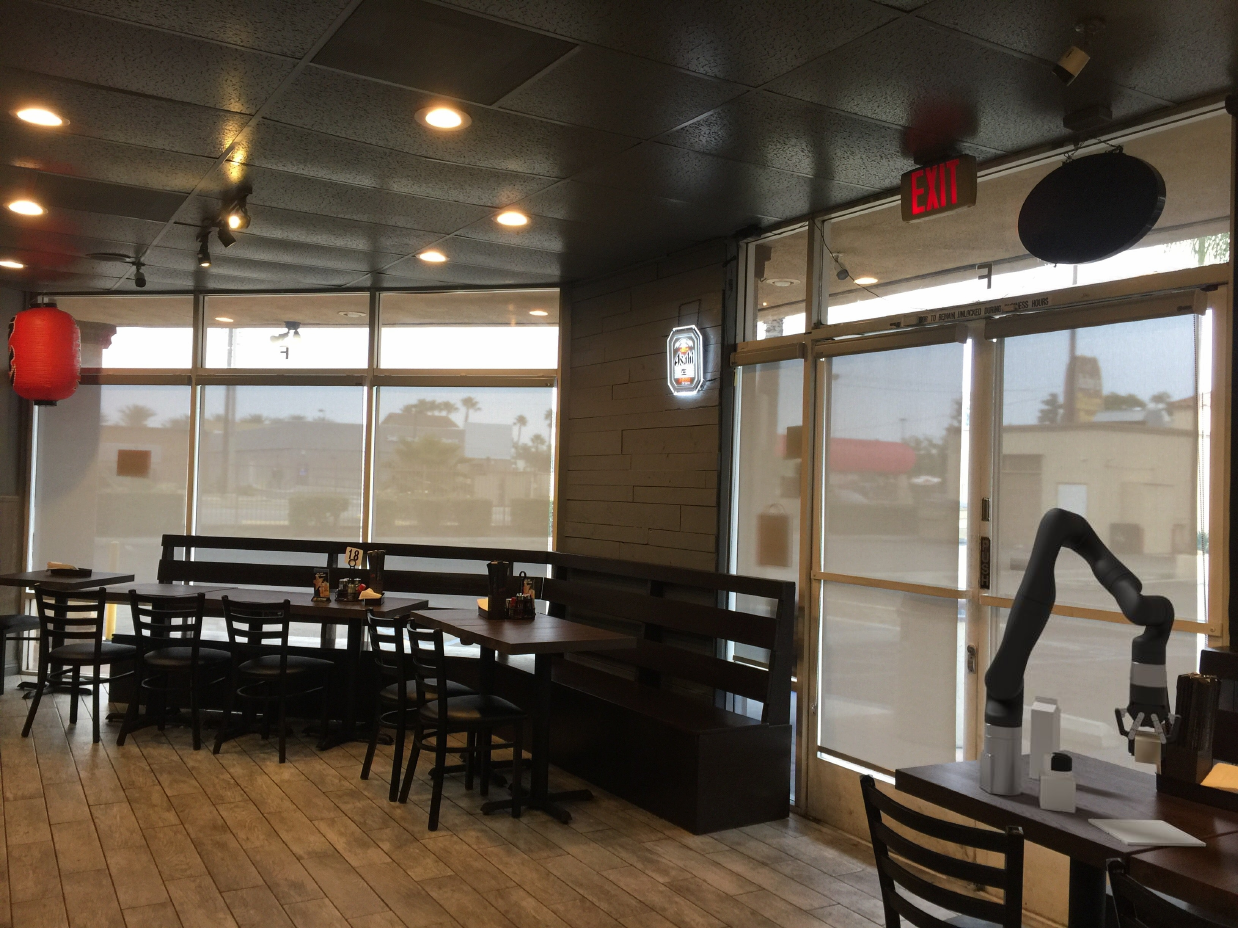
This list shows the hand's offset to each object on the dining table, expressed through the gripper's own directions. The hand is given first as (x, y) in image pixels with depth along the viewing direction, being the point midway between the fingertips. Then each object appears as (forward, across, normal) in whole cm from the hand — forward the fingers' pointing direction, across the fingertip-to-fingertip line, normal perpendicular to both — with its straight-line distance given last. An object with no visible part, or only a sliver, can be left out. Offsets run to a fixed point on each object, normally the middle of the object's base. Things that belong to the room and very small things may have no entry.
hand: (1146, 756), depth 229 cm
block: (-3, 0, +7) cm, 7 cm away
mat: (+17, 0, 0) cm, 17 cm away
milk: (+18, +23, -38) cm, 48 cm away
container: (+18, +19, -11) cm, 28 cm away
